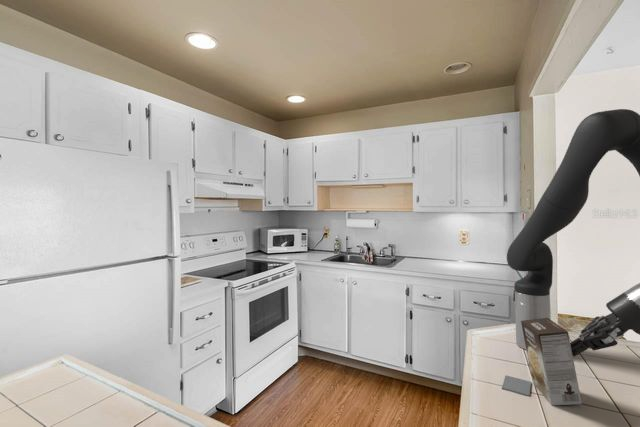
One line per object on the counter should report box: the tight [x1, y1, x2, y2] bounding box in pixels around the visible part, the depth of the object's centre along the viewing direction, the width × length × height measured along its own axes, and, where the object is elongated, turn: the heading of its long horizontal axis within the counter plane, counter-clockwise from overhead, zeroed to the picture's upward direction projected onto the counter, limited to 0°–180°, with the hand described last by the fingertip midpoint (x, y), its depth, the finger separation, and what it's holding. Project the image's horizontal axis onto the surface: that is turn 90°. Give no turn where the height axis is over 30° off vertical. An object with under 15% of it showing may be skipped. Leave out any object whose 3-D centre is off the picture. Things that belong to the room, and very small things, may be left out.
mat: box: [501, 374, 532, 397], centre depth 75 cm, size 7×6×1 cm
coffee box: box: [521, 318, 583, 406], centre depth 71 cm, size 9×6×16 cm
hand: (569, 351), depth 69 cm, fingers closed
